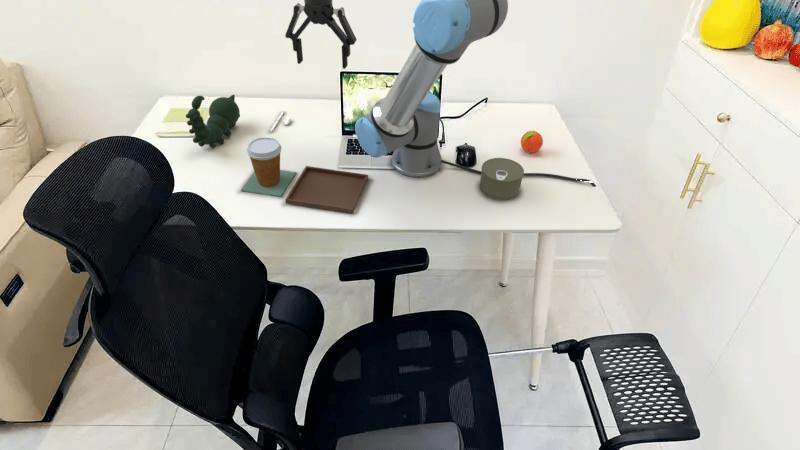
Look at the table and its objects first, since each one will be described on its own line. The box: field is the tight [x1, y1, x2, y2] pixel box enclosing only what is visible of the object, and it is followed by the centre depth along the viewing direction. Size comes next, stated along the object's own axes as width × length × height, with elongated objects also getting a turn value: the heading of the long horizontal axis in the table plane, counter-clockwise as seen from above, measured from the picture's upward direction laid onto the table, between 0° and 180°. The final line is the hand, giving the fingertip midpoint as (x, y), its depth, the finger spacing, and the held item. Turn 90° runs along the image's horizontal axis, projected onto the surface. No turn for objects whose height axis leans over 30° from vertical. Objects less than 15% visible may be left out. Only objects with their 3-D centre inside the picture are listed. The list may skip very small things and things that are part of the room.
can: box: [479, 157, 525, 201], centre depth 155 cm, size 12×12×7 cm
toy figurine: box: [185, 94, 241, 149], centre depth 170 cm, size 9×19×25 cm
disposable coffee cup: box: [246, 136, 282, 187], centre depth 153 cm, size 10×10×12 cm
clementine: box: [520, 130, 544, 154], centre depth 172 cm, size 8×7×7 cm
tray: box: [285, 165, 369, 215], centre depth 154 cm, size 19×17×2 cm
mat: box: [240, 169, 297, 198], centre depth 157 cm, size 12×12×1 cm
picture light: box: [270, 111, 291, 132], centre depth 183 cm, size 14×4×2 cm, turn 173°
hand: (322, 64), depth 157 cm, fingers open, 13 cm apart
